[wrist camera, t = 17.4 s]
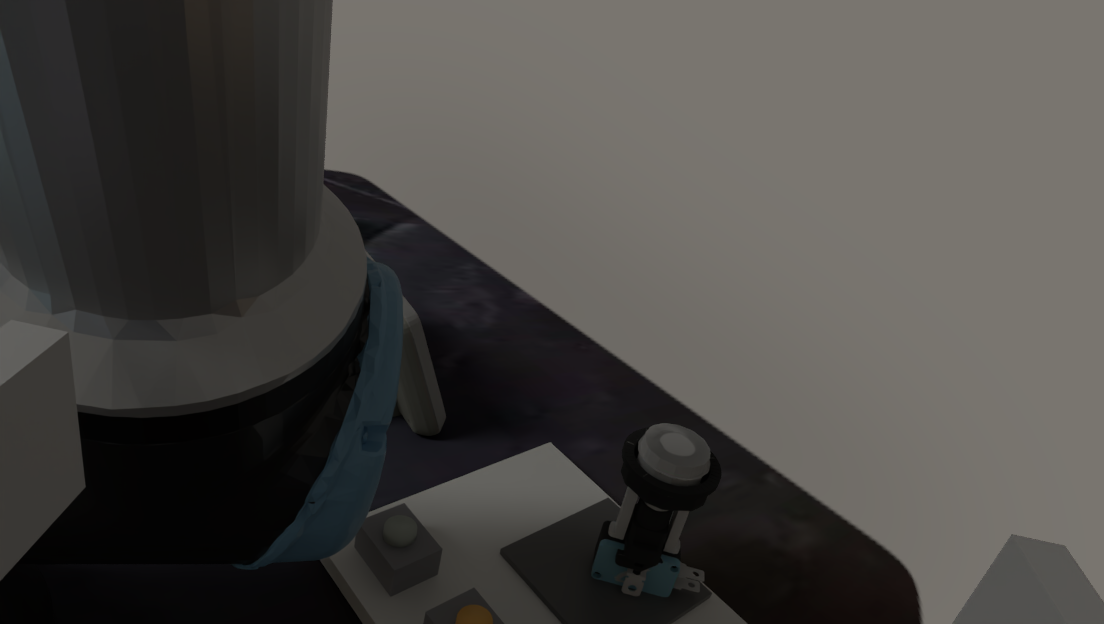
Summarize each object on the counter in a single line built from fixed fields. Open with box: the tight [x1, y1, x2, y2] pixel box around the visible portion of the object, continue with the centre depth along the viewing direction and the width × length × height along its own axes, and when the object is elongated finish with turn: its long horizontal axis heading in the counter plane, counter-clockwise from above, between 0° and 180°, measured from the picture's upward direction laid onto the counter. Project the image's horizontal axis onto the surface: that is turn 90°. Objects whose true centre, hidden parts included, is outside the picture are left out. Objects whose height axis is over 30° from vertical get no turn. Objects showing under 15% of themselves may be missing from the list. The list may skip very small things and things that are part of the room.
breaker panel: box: [320, 443, 747, 624], centre depth 43 cm, size 22×18×4 cm
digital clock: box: [365, 250, 446, 436], centre depth 57 cm, size 16×9×11 cm, turn 21°
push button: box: [591, 423, 721, 597], centre depth 43 cm, size 7×5×10 cm
